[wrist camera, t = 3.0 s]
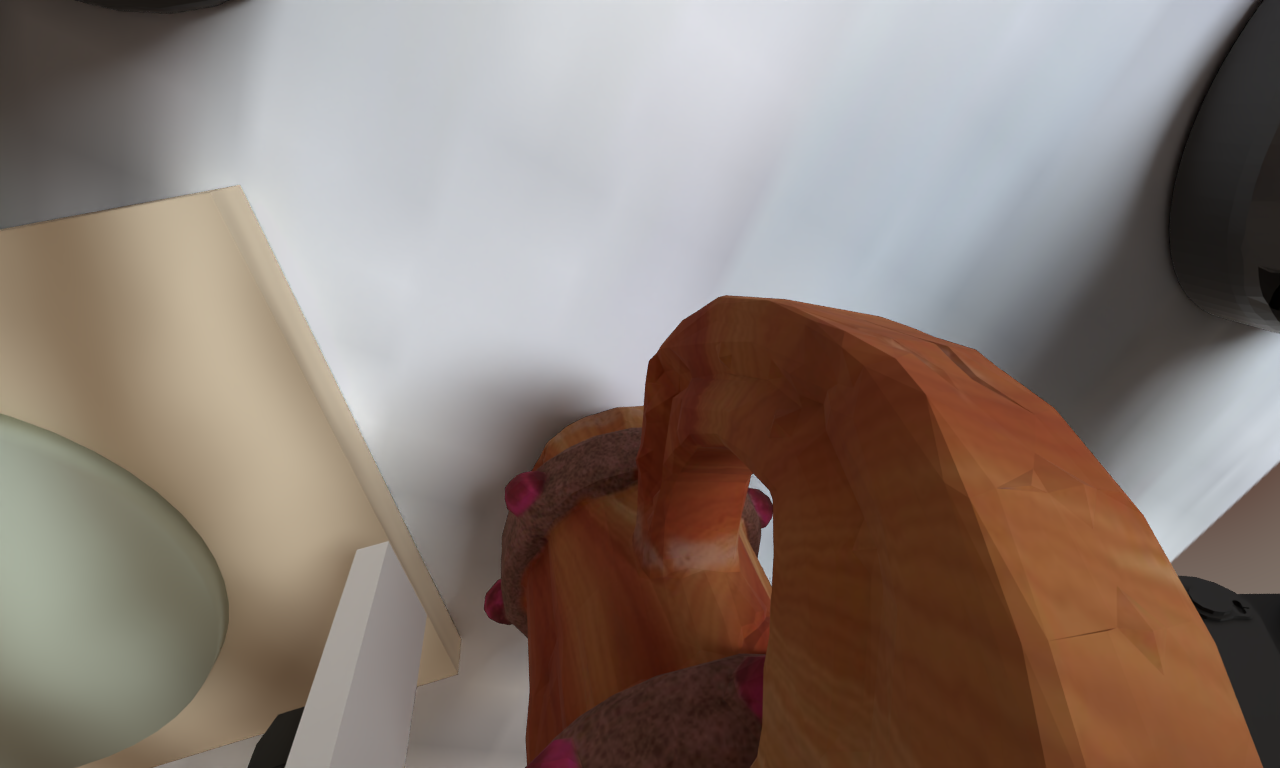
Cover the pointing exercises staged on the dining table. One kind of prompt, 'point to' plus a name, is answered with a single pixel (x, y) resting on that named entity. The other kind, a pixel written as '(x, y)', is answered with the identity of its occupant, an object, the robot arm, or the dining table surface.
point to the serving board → (171, 489)
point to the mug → (847, 570)
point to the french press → (154, 5)
